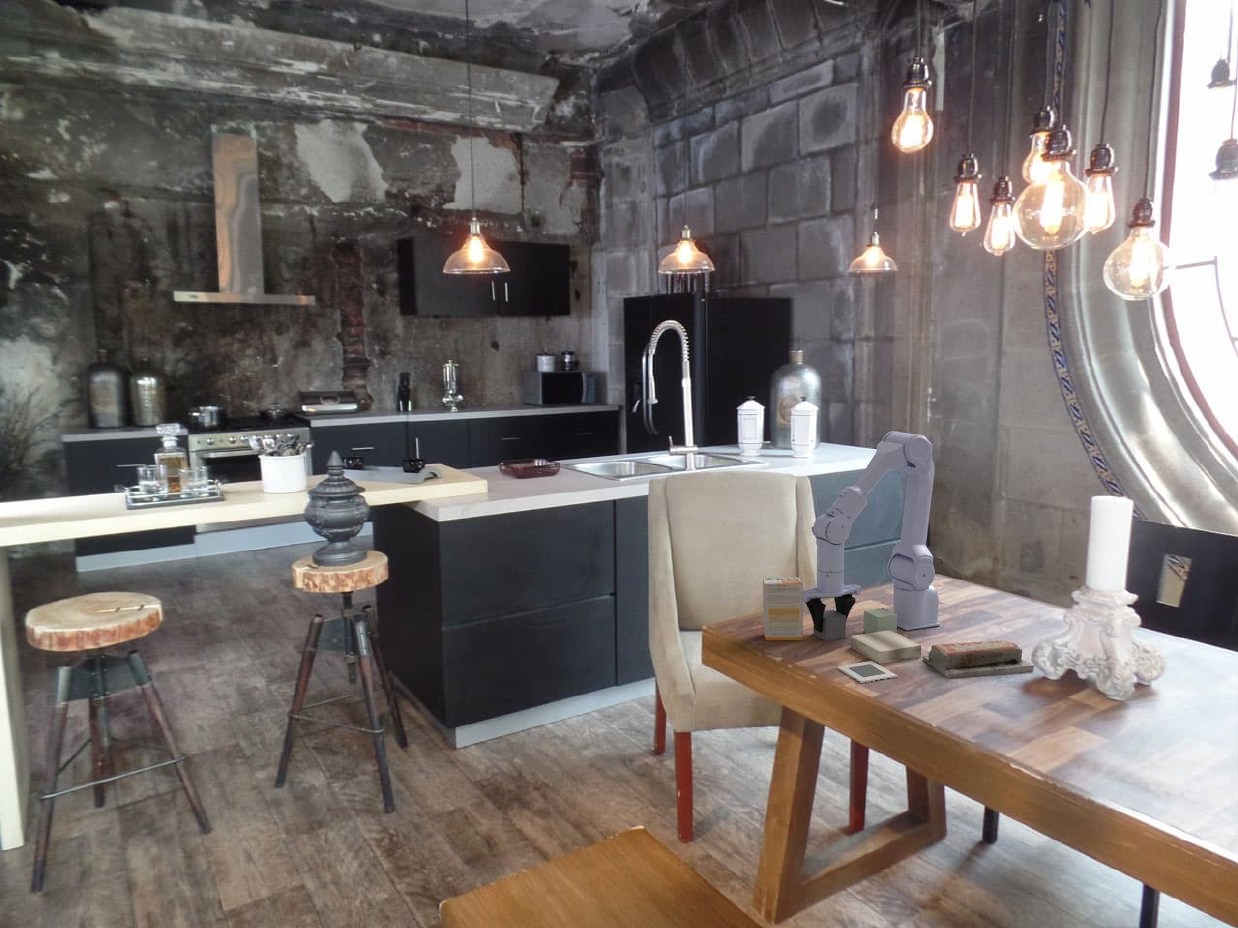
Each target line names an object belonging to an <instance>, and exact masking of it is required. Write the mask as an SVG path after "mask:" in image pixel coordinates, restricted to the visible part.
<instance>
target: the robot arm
mask: <svg viewBox="0 0 1238 928" xmlns="http://www.w3.org/2000/svg"><path fill="white" fill-rule="evenodd" d="M881 439H882V440H880V441H879V443H877V444H876V452H875V453H874V455H873V457H872V458H871V460H870V461H869V462H868V464H867V465H866V467H865V468H864V470H863V471H862V473H861V474H860V475H859V477H858V479H857V480H856V482H855V483H854V485H853V486H847V487H845V488H844V489H841V490H840V491H839V493H838V495H839V496H838V497H837V498H836V500H835V501H834V502H833V503H832V505H831V506H830V507H829V508H827V510H826V511H825V513H823V514H821V515H819V516H818V517H817V518H816V519H815V520H814V523H813V526H811V527H810V528H811V532H812V535H813V536H814V537H815V542H816V587H812V588H809V589H805V590H803V594H802V602H803V603H804V604H805V605H806V607H807V609H808V611H809V613H810V616H811V620H812V624H813V629H814V628H815V630H816V631H817V632H819V633H821V632H822V631H823V616H824V611H825V610H826V607H827V605H826V604H825V603H823V601H822V600H825V599H830V598H831V599H834V604H835V610H836V611H838V612H839V613H841V614H843V615H845V616H846V622H848V621H847V620H848V618H849V614H850V612H851V611H852V609H853V607H854V605H855V604H856V599H857V598H856V597H854V595H855V596H861V594H862V591H861V590H862V586H860V585H858V584H844V581H845V580H844V577H845V575H844V574H845V571H844V570H845V541H846V540H848V539H849V537H850V535H851V529H852V526H853V523H854V521H855V520H856V519H857V518H858V517H859V515H860V514H861V512H862V511H863V510H864V508H866V506H867V505H868V497H867V496H868V495H869V493H870V492H871V491H872V490H873V489H874V488H875V487H876V486H877V484H879V482H880V481H881V480H882V479H883V478H884V477H885V475H886V474H887V473H888V472H889V471H890V470H892V469H897V468H902V470H903V471H904V472H905V473H906V474H907V479H906V480H907V481H906V488H905V498H904V505H903V506H904V507H903V514H902V515H903V517H902V524H901V534H900V541H899V543H898V544H895V546H894V547H892V551H891V556H890V557H889V560H888V561H887V564H886V570H887V571H886V572H887V574H888V575H889V577H890V578H891V582H892V583H893V593H892V595H893V599H892V600H893V601H892V602H893V603H892V612H894V613H896V614H897V628H900V629H901V630H904V631H911V630H912V631H913V630H918V629H924V628H931V627H938V626H941V623H940V622H939V593H938V591H937V589H936V588H935V586H934V585H932V584H933V582H934V579H935V576H936V575H935V574H936V570H935V568H934V556H933V554H932V553H931V551H930V550H929V548H928V547H927V538H928V529H929V521H930V513H931V505H932V504H931V503H932V495H933V489H934V488H933V487H934V486H933V485H934V480H935V472H936V471H935V468H936V467H935V463H934V458H933V449H934V445H933V443H932V442H931V441H930V440H929V439H928V438H927V437H926V436H925V435H924V434H920V433H917V434H916V433H915V434H914V433H908V432H907V433H906V432H900V431H896V430H892V431H888V432H887V433H886V434H885V435H884V436H883V437H882V438H881Z"/></svg>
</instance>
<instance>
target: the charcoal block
mask: <svg viewBox="0 0 1238 928" xmlns="http://www.w3.org/2000/svg"><path fill="white" fill-rule="evenodd" d="M846 633H847V621H846V616H845V615H843V614H841V613H839V612H838V611H836V609H834V608H833V609H825V611H824V616H823V631H822V632H821V633H819V632H817V631H816V630H815V628H814V627H813V634H814V635H815V636H816V637H818V638H820V639H822V640H823V641H825V642H827V641H833V640H841V639H846V638H847V636H846V635H847V634H846Z"/></svg>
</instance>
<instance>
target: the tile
mask: <svg viewBox="0 0 1238 928" xmlns="http://www.w3.org/2000/svg"><path fill="white" fill-rule="evenodd" d="M837 669H838V670H840V671H841V672H842V673H844V674H846V675H847V676H849V677H850V678H852V679H854V678H855V679H856V680H855V679H854V680H855V681H857V682H858V681H859V682H858V683H860V684H865V682H866V683H870V682H871V681H872V682H876V681H875V680H878V681H881V680H880V679H884V680H888V679H887V678H890V679H895V678H897V677H898V675H897V674H896V673H894V672H892V671H890V670H889V669H887V668H885V667H884V666H882V665H881V664H878V663H877V662H875V661H873V660H869V661H864V662H858V663H851V664H845V665H840V666H837ZM872 682H871V683H872Z"/></svg>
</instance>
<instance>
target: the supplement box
mask: <svg viewBox="0 0 1238 928" xmlns="http://www.w3.org/2000/svg"><path fill="white" fill-rule="evenodd" d="M762 579H763V580H762V585H763V586H762V589H763V591H762V593H763V594H762V595H763V596H762V598H763V600H762V601H763V604H762V605H763V635H764V638H765V641H803V640H804V634H803V633H804V630H803V629H804V625H803V623H804V621H803V620H804V619H803V618H804V617H803V615H804V614H803V613H804V611H803V609H804V608H803V602H802V594H803V591H804V589H803V587H804V586H803V582H802V580H801V577H763V578H762Z"/></svg>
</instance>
